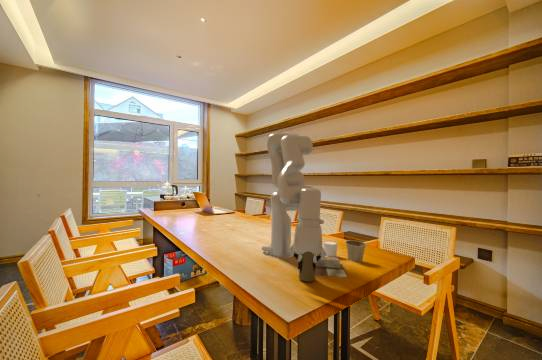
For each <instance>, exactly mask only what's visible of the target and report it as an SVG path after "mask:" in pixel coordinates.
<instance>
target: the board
mask: <svg viewBox="0 0 542 360" xmlns="http://www.w3.org/2000/svg"><path fill="white" fill-rule="evenodd" d="M322 258H330V259H339V258H338V257H330V256H325V257H322ZM315 276H322V277H323V276H325V277H336V278H349V276H348V274H347V272H346V269H345V268H344V266H343V263H340V268H328V267H315Z"/></svg>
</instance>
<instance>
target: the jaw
mask: <svg viewBox="0 0 542 360" xmlns="http://www.w3.org/2000/svg"><path fill="white" fill-rule="evenodd" d="M340 262H341V261H340V259H339V258H338V259H330V258H321V259H319V260H318V261H317V263H316V267H328V268H340V264H341V263H340Z"/></svg>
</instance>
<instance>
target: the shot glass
mask: <svg viewBox="0 0 542 360" xmlns="http://www.w3.org/2000/svg"><path fill="white" fill-rule="evenodd" d="M338 245H339V244H338V242H336V241H332V240H331V241H330V240H325V241H322V247H323V248H324V250H325V252H326V256H325V257H333V258H335V257H337V250H338Z"/></svg>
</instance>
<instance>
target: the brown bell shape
mask: <svg viewBox="0 0 542 360" xmlns="http://www.w3.org/2000/svg"><path fill="white" fill-rule="evenodd" d="M313 257H314V254H313V253H312V252H309V251H307V252H305V253H304V254H302V270H301V273H300V271H298V272H299V273H298V278H299V280H301V281H302V282H313V281H315V280H316V275H315V271H313V265H312V263H314V262H313Z"/></svg>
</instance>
